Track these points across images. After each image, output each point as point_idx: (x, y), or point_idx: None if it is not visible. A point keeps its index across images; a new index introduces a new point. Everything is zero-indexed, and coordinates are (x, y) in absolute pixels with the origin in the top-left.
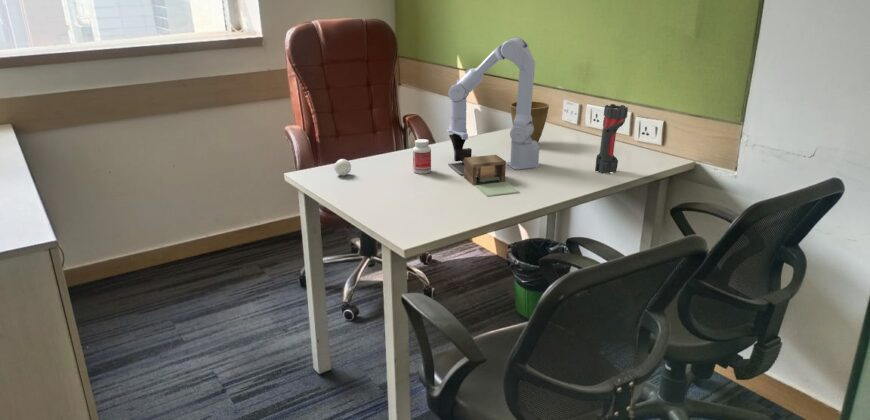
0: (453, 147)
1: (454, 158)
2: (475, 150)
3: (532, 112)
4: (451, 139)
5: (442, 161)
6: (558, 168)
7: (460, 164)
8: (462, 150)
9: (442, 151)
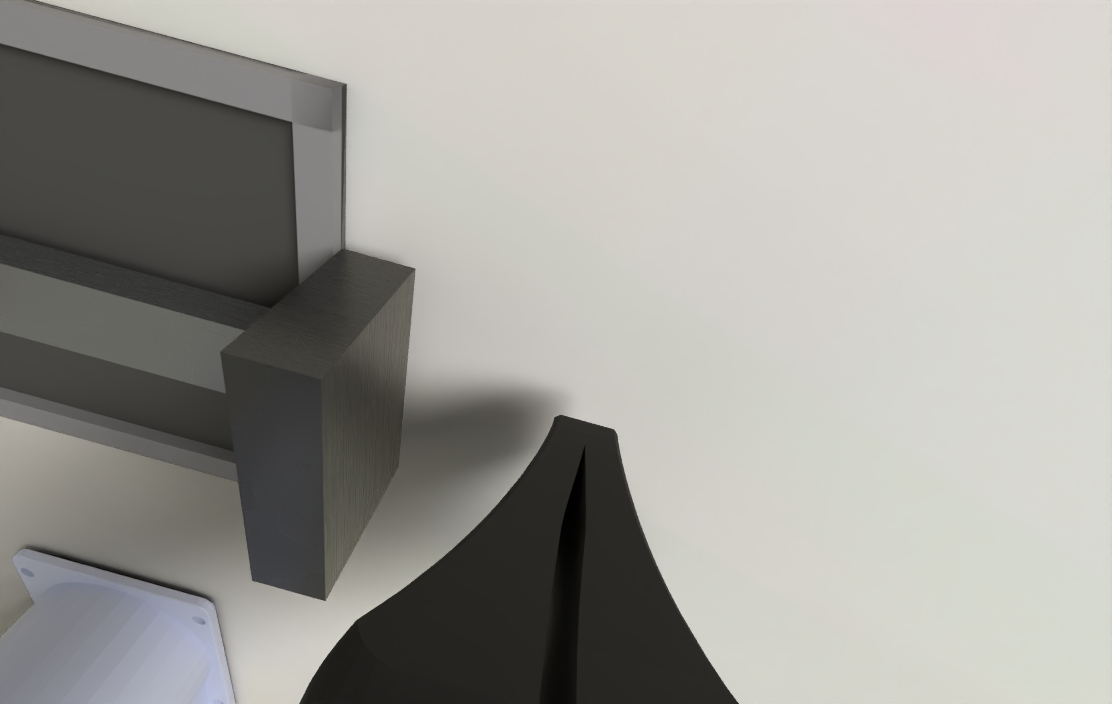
0: (617, 498)
1: (390, 280)
2: (746, 686)
3: None
4: (641, 646)
5: (610, 134)
6: None
7: (295, 266)
8: (240, 459)
9: (1080, 462)
